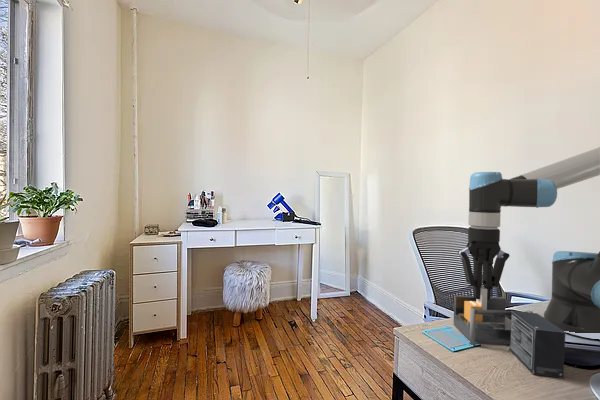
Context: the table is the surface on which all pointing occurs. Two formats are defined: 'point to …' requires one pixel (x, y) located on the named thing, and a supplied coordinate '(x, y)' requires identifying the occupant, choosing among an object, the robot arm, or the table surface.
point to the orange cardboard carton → (467, 310)
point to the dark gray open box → (484, 321)
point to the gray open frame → (484, 312)
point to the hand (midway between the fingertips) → (481, 310)
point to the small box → (537, 344)
